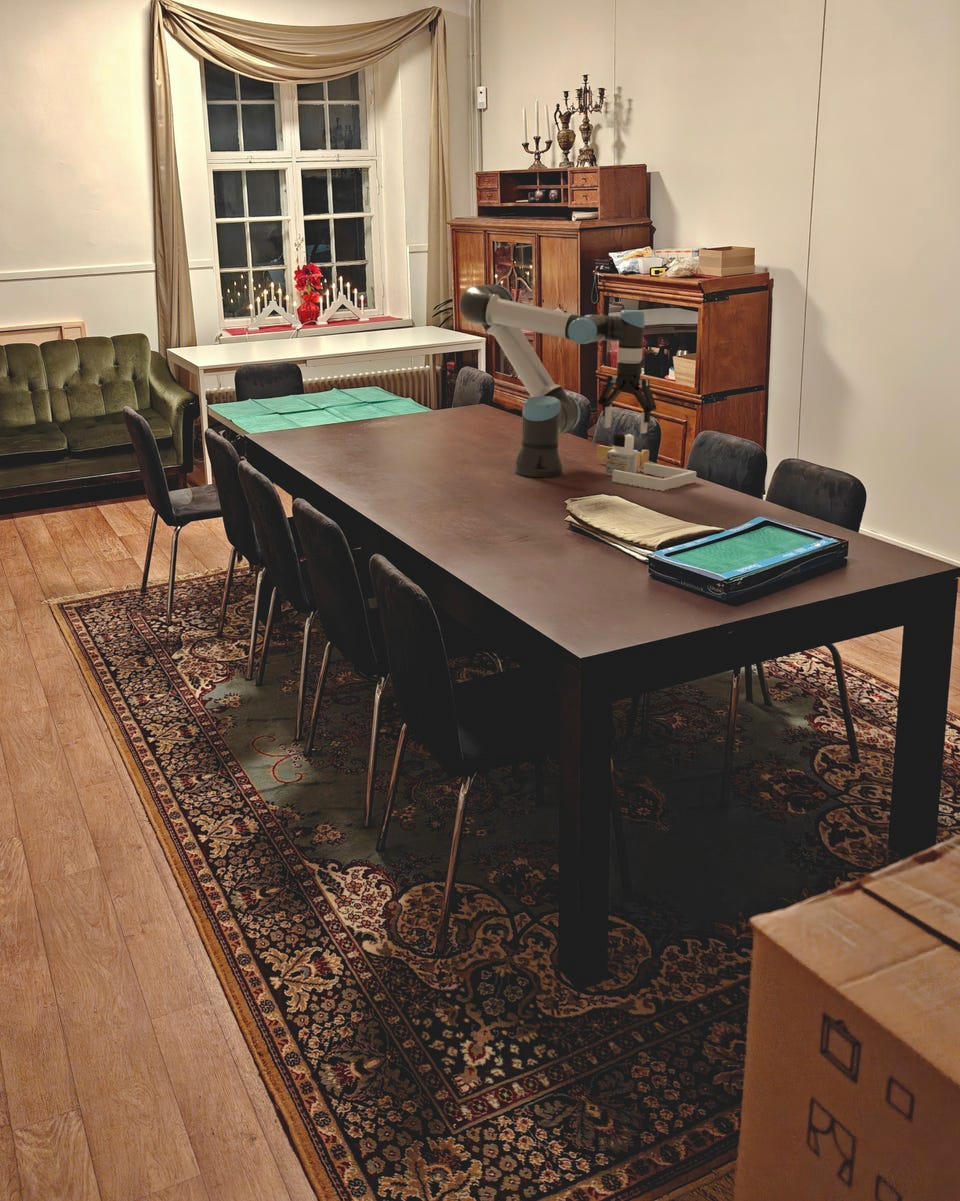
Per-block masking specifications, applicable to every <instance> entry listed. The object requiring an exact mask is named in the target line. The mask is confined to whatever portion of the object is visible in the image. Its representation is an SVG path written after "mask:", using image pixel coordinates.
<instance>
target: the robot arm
mask: <svg viewBox="0 0 960 1201" xmlns="http://www.w3.org/2000/svg"><path fill="white" fill-rule="evenodd" d="M459 311H460V314H462V316H463V318H464V319H465V320H467V321H468V322H471V323H473V324H481V326H482V328H483V329H484V332H486V334H488V335H492V336H494V338H495V340H496V342H497V343H498V345H499V347H500V348H501V350H502V351H503V353H504V354H505V357H506V358H507V359H508V361H509V363H510V364H511V366H512V368H513V370H514V371H515V372H516V374H517V376H518V378H519V379H520V381H521V382H522V384H523V386H524V388H525V389H526V391H527V392H528V394H529V398H528V399H526V400H525V401H524V402H523V406H522V411H521V412H522V414H521V415H522V419H521V420H522V421H521V445H520V447H521V448H520V451H519V453H518V455H517V459H516V462H515V464H514V472H515V474H516V475H521V476H523V477H524V476H525V477H532V478H554V477H559V476H561V475H563V464H562V460H561V457H560V456H561V455H560V451H559V440H560V435H562V434H567V433H569V432H570V431H571V430H573V429H574V428H575V427H576V426H577V425H578V423H579V422H580V417H581V408H580V405H579V402H577V400H576V399H575V398H573V396H570V395H568V394H567V393H566V391H565V390H564V388H563V386H562V385H560V384H556V383H555V382H554V380H553V379H552V377H551V375H550V374H549V372H548V371H547V369H546V367H545V366H544V364H543V363H542V361H541V359H540V358H539V356H538V354H537V353H536V351H535V349H534V348H533V346H532V345H531V343H530V341H529V339H528V338H527V337H526V336H527V335H526V334H525V333H524V331H523V330H526V331H528V332H529V331H530V332H534V333H539V334H544V335H548V336H552V337H556V338H562V339H566V340H570V341H572V342H574V343H575V344H578V345H579V344H580V345H586V344H587V345H588V344H590V343H595V342H599V341H608V342H609V341H611V342H618V345H617V347H618V348H617V361H618V362H617V363H616V374H617V375H615V374H613V375H608V377H607V381H606V382H607V383H606V385H605V387H604V389H603V391H602V393H601V394H600V397H599V399H598V401H597V403H598V405H601V406H602V407H603V408H602V416H603V417H604V419H603V420H604V421H603V428H605V429H608V428H611V427H612V415H613V414H612V412H613V406H611V405H612V403H613V402H614V401H615V399H616V398H617V397H618V396H619V395H620V394H621V393H629V394H631V393H632V395H633V396H634V397H635V399H636V401H638V403H639V406H640V407H641V408H642V410H643V411H642V412H641V414H640V415H641V417H640V428H639V429H640V431H639V433H640V434H646V433H648V423H650V421H651V412H653V411H654V412H655V411H656V410H657V405H656V402H655V400H654V396H653V394H652V390H651V387H650V380H649V379H648V378H647V379H645V378H644V379H641V375H642V363H641V362H642V361H643V350H644V346H643V345H644V333H645V327H646V326H645V313H644V311H642V310H640V309H639V310H637V309H622V310H621V311H620V314H619V315H616V316H615V315H606V314H605V315H603V314H585V315H584V316H583V315H578V314H573V313H569V312H563V311H559V310H555V309H550V308H545V307H541V306H535V305H531V304H527V303H522V302H517V301H515V300H514V297H513V295H512V292H510V290H509V289H507V288H506V287H504V286H502V285H500V284H495V283H490V284H485V285H472V286H470V287H468V288H466V289H465V291H464V292H463V293H462V294H461V296H460V298H459ZM615 383H616V384H617V385H616V387H615V388H614V385H615ZM613 388H614V389H613ZM641 388H642V389H641ZM612 390H613V391H612ZM611 391H612V392H611Z"/></svg>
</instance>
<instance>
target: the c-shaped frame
mask: <svg viewBox="0 0 960 1201" xmlns="http://www.w3.org/2000/svg"><path fill="white" fill-rule="evenodd" d="M643 471H644V472H649V473H654V474H659V475H665V476H671V477H667V478H662V477H657V476H651V475H646V474H641V473H640V474H639V473H636V474H635V473H630V472H625V471H619V470H613V473H612V476H611V482H614V483H617V484H623V485H627V484H628V485H627V486H632V485H633V487H637V486H639V487H638V488H642V487H644V488H643V489H647V488H650V489H649V490H652V489H655V490H654V491H657V490H661V491H660V492H662V491H664V490H666V489H669V488H672V487H674V486H677V485H680V484H683V483H686V482H688V481H691V480H694V478H696V479H697V473H698V472H697V471H695V470H688V469H684V468H678V467H674V466H668V465H662V464H656V463H652V462H651V463H650V462H648V463H644V465H643ZM680 473H682V474H680ZM664 492H665V491H664Z"/></svg>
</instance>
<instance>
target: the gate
mask: <svg viewBox="0 0 960 1201" xmlns="http://www.w3.org/2000/svg"><path fill="white" fill-rule="evenodd" d="M612 449H614V448H613V446H607V445H602V444H597V447H596V460H601V461H606V462H607V452H608V451H610V450H612ZM649 458H650V450H649V449H641V451H638V460H637V468H640V469H641V468H643V465H644V463H650V462H649V461H650V460H649Z"/></svg>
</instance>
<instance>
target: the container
mask: <svg viewBox="0 0 960 1201" xmlns="http://www.w3.org/2000/svg"><path fill="white" fill-rule="evenodd" d="M612 438H613V439H612V447H613V448H614V449H612V450H610V451H608V452H607V461H606V465H605V475H606V476H611V477H612V473H613V470H619V471H625V472H630V473H636V474H637V472H638V466H637V460H638V452H639V451H638V450H636V449H634V446H635V444H634V443H635V436H634V435H633V434H631V433H623V432H619V433H616V434H614V435H613V437H612Z"/></svg>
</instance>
